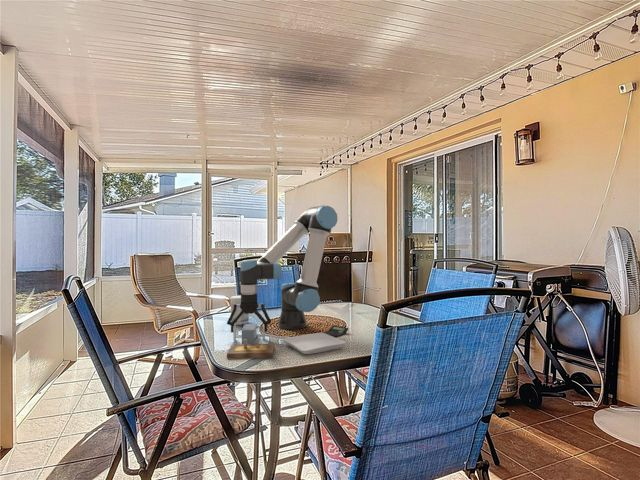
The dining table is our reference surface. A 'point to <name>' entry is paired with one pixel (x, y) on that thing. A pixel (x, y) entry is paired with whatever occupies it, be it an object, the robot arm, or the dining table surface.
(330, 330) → the calculator
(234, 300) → the supplement tub
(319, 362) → the dining table surface
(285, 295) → the robot arm
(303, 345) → the salad plate
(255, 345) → the board
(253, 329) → the block
